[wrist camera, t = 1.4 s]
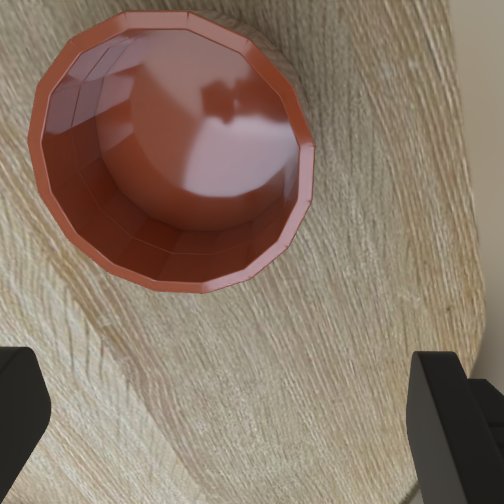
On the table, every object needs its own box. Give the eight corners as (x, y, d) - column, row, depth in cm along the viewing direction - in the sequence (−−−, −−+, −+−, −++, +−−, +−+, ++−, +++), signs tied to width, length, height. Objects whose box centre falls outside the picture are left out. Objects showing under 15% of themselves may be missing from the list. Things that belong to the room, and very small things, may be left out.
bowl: (188, -51, 20) (148, -73, 15) (358, 137, 23) (375, 176, 18) (47, 132, 25) (-23, 166, 19) (206, 272, 28) (183, 335, 22)
